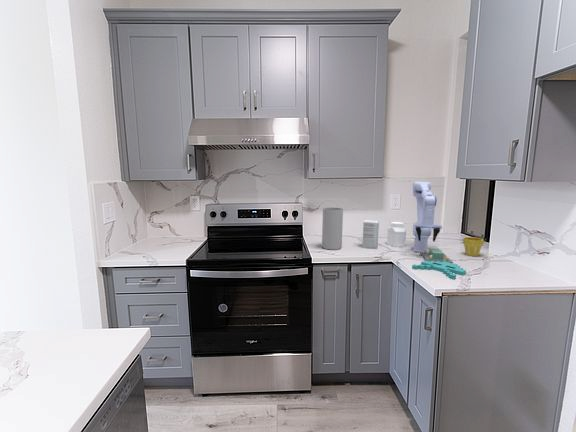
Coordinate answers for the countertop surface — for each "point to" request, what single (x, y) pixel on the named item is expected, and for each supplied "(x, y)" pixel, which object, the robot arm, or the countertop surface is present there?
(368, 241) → the supplement box
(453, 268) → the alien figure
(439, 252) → the green block
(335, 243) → the cylinder vase
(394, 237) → the jar
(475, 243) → the plant pot
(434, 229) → the robot arm
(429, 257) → the chassis
